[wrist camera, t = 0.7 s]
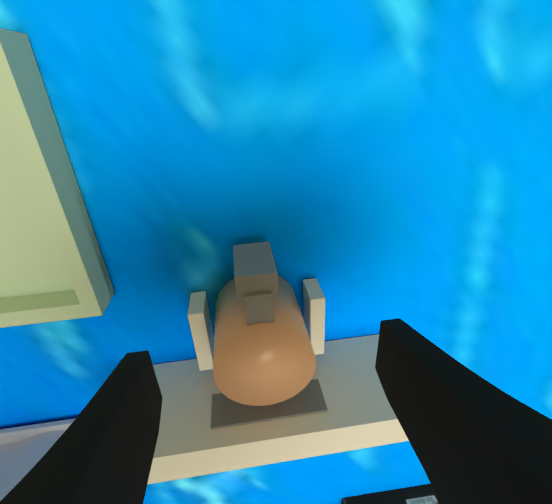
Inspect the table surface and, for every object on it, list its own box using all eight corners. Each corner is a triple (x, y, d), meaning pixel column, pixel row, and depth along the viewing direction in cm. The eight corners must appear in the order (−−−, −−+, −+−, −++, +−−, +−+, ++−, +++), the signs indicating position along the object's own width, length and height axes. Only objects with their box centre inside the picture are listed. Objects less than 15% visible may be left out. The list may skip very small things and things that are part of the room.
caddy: (221, 341, 21) (219, 412, 16) (203, 237, 17) (195, 291, 13) (297, 331, 21) (315, 397, 17) (294, 227, 18) (316, 277, 13)
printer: (124, 391, 22) (92, 493, 16) (91, 304, 18) (36, 396, 13) (391, 353, 23) (440, 435, 18) (404, 267, 20) (469, 336, 15)
